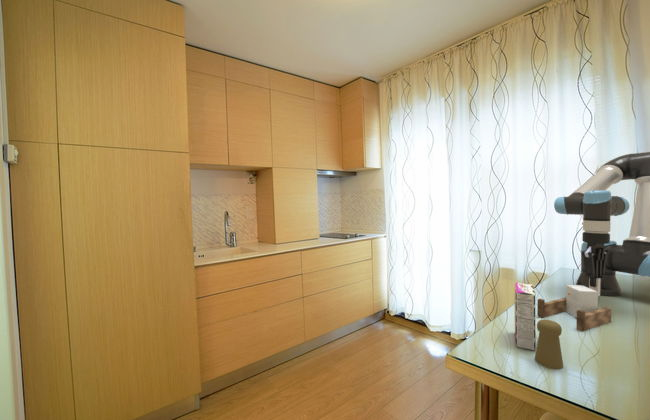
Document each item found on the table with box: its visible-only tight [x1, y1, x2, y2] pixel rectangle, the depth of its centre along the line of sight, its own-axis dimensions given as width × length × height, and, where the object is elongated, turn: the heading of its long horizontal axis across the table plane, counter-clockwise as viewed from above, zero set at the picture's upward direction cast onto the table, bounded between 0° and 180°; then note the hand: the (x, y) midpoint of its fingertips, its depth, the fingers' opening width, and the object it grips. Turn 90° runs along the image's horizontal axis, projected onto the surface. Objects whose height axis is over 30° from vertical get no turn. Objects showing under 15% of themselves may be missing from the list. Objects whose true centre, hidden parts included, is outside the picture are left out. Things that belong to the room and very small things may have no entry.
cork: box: [534, 319, 564, 370], centre depth 77 cm, size 6×6×11 cm
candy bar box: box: [514, 282, 537, 352], centre depth 88 cm, size 11×5×16 cm, turn 148°
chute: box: [536, 296, 612, 332], centre depth 104 cm, size 18×14×6 cm
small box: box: [565, 284, 599, 319], centre depth 106 cm, size 8×6×10 cm
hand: (594, 295), depth 110 cm, fingers closed
